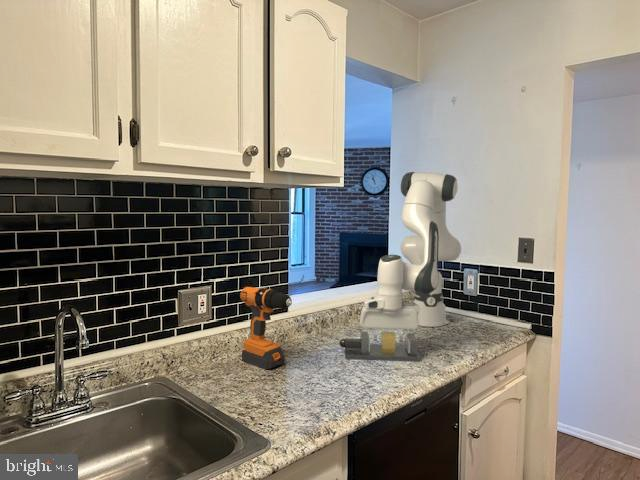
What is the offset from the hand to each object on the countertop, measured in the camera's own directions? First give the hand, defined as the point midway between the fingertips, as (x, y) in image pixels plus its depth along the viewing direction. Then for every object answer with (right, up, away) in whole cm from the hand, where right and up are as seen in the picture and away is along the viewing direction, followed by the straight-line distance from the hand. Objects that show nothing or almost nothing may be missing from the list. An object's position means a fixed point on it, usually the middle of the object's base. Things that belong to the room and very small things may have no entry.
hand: (388, 340), depth 155 cm
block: (0, -3, 0) cm, 3 cm away
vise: (-3, -5, 0) cm, 6 cm away
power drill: (-41, -5, -11) cm, 43 cm away
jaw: (-12, -3, +1) cm, 12 cm away
